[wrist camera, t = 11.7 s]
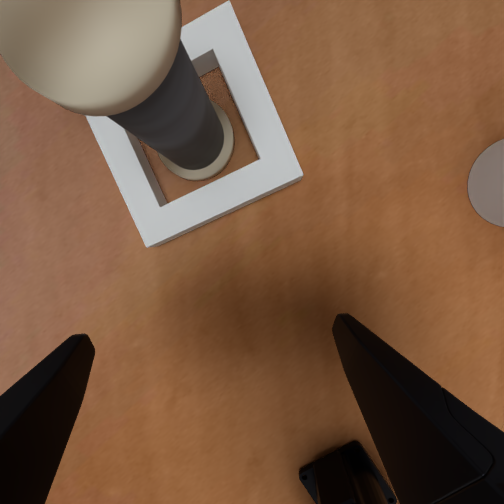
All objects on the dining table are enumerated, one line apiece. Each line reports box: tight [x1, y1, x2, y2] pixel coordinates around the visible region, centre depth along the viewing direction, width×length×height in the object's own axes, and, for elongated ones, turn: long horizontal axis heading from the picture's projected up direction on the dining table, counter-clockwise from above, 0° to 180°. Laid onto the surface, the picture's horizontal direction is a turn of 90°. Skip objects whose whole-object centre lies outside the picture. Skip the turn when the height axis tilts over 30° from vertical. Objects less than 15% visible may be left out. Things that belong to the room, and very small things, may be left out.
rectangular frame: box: [85, 1, 303, 248], centre depth 16 cm, size 14×16×11 cm
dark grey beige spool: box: [0, 0, 234, 181], centre depth 15 cm, size 7×7×13 cm
